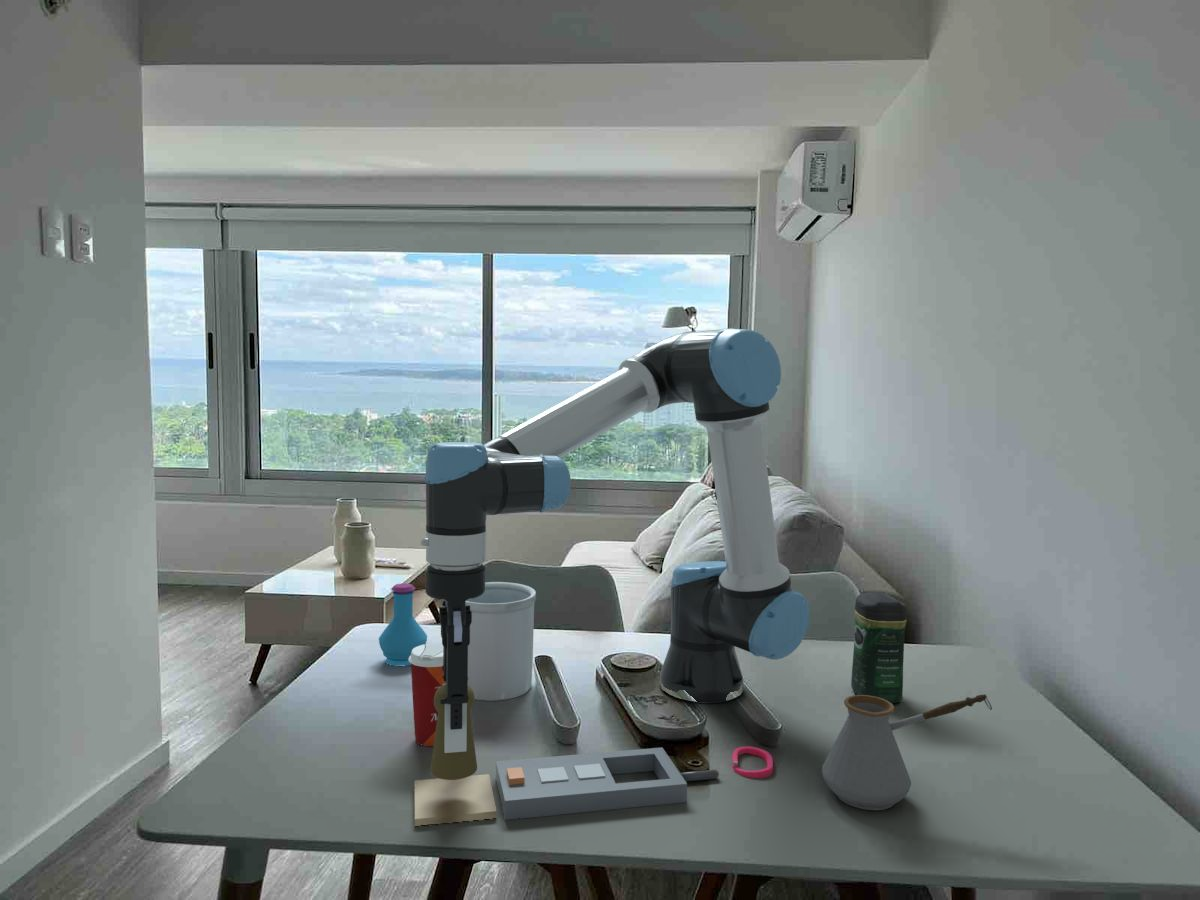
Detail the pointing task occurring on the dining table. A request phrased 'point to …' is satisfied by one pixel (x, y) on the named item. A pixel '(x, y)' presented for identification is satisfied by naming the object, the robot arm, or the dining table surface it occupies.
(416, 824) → the oak board
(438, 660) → the paper cup
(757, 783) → the dining table surface
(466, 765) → the olive knobbed peg
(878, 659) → the coffee jar
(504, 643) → the utensil holder
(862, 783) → the coffee pot
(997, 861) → the dining table surface
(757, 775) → the fitness band
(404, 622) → the perfume bottle
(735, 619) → the robot arm
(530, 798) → the power strip
